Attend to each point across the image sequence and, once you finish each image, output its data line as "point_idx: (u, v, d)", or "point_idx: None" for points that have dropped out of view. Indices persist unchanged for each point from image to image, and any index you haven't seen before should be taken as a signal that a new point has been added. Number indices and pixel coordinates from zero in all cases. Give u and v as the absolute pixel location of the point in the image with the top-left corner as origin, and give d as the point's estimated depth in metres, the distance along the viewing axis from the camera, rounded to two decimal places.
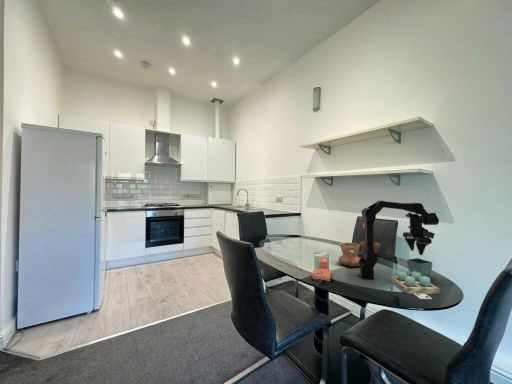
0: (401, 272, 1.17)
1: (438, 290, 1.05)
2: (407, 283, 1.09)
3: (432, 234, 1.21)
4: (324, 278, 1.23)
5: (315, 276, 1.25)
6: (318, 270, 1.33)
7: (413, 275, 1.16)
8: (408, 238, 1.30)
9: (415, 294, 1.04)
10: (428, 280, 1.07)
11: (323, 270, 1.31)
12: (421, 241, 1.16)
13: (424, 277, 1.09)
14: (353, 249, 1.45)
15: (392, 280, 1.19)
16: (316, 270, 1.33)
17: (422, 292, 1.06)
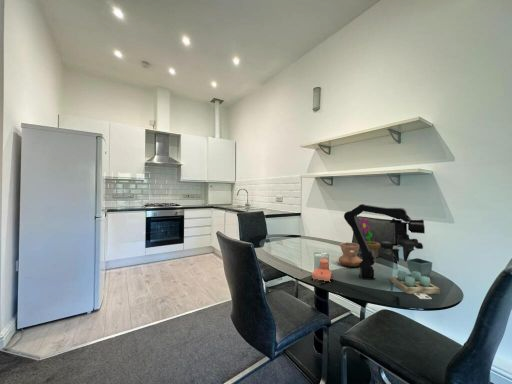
0: (401, 272, 1.17)
1: (438, 290, 1.05)
2: (407, 283, 1.09)
3: (403, 243, 1.11)
4: (324, 279, 1.22)
5: (315, 276, 1.24)
6: (318, 270, 1.32)
7: (413, 275, 1.16)
8: None
9: (415, 294, 1.04)
10: (428, 280, 1.07)
11: (323, 270, 1.31)
12: (380, 244, 1.20)
13: (424, 277, 1.09)
14: (353, 249, 1.45)
15: (392, 280, 1.19)
16: (316, 270, 1.32)
17: (422, 292, 1.06)
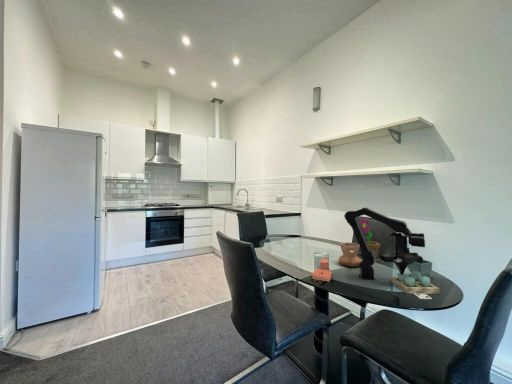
0: None
1: (438, 290, 1.05)
2: (407, 283, 1.09)
3: (403, 257, 1.10)
4: (324, 279, 1.22)
5: (315, 277, 1.24)
6: (319, 271, 1.31)
7: (413, 275, 1.16)
8: (401, 260, 1.19)
9: (415, 294, 1.04)
10: (428, 280, 1.07)
11: (324, 271, 1.30)
12: (381, 257, 1.20)
13: (424, 277, 1.09)
14: (353, 249, 1.45)
15: (392, 280, 1.19)
16: (317, 271, 1.32)
17: (422, 292, 1.06)
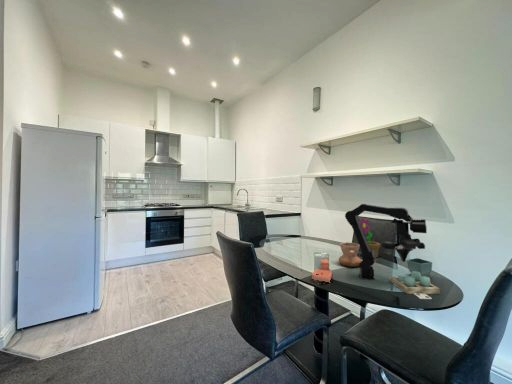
0: (401, 276, 1.17)
1: (438, 290, 1.05)
2: (407, 283, 1.09)
3: (405, 243, 1.10)
4: (323, 279, 1.21)
5: (315, 277, 1.23)
6: (319, 271, 1.31)
7: (413, 275, 1.16)
8: (403, 247, 1.18)
9: (415, 294, 1.04)
10: (428, 280, 1.07)
11: (324, 271, 1.29)
12: (382, 245, 1.19)
13: (424, 277, 1.09)
14: (353, 249, 1.45)
15: (392, 280, 1.19)
16: (317, 271, 1.31)
17: (422, 292, 1.06)
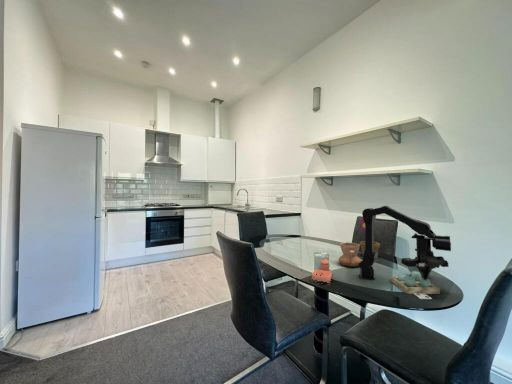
0: (401, 276, 1.17)
1: (438, 290, 1.05)
2: (407, 283, 1.09)
3: (428, 261, 1.03)
4: (323, 280, 1.20)
5: (315, 277, 1.23)
6: (319, 271, 1.30)
7: (413, 275, 1.16)
8: (424, 264, 1.11)
9: (415, 294, 1.04)
10: (428, 282, 1.07)
11: (324, 272, 1.29)
12: (401, 261, 1.12)
13: None
14: (353, 249, 1.45)
15: (392, 280, 1.19)
16: (317, 271, 1.31)
17: (422, 292, 1.06)
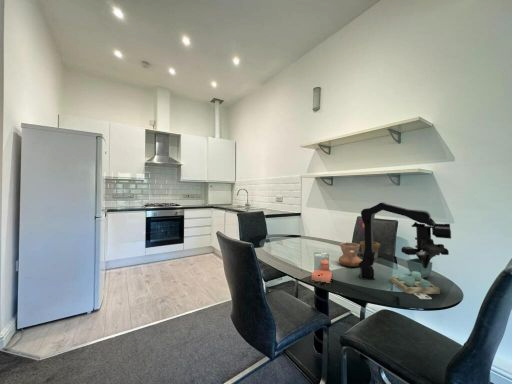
0: (401, 276, 1.17)
1: (438, 290, 1.05)
2: (407, 283, 1.09)
3: (428, 249, 1.03)
4: (323, 280, 1.20)
5: (314, 278, 1.22)
6: (319, 272, 1.30)
7: (413, 275, 1.16)
8: None
9: (415, 294, 1.04)
10: (428, 284, 1.07)
11: (324, 272, 1.28)
12: (402, 250, 1.12)
13: (424, 281, 1.09)
14: (353, 249, 1.45)
15: (392, 280, 1.19)
16: (317, 272, 1.30)
17: (422, 292, 1.06)
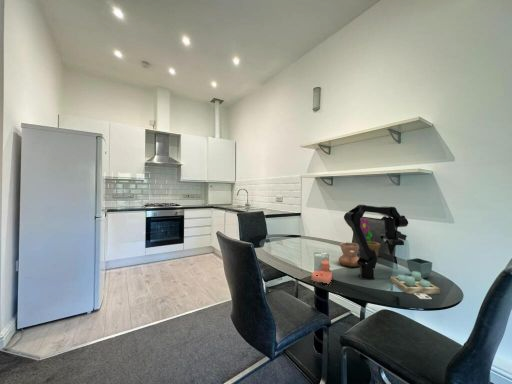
0: (401, 276, 1.17)
1: (438, 290, 1.05)
2: (407, 283, 1.09)
3: (404, 236, 1.28)
4: (323, 281, 1.19)
5: (314, 278, 1.22)
6: (319, 272, 1.29)
7: (413, 275, 1.16)
8: (386, 242, 1.32)
9: (415, 294, 1.04)
10: (428, 284, 1.07)
11: (324, 272, 1.27)
12: (395, 243, 1.22)
13: (424, 281, 1.09)
14: (353, 249, 1.45)
15: (392, 280, 1.19)
16: (317, 272, 1.29)
17: (422, 292, 1.06)
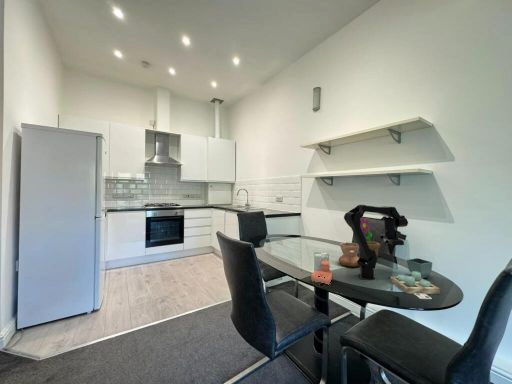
0: (401, 276, 1.17)
1: (438, 290, 1.05)
2: (407, 283, 1.09)
3: (404, 236, 1.28)
4: (323, 281, 1.19)
5: (314, 279, 1.21)
6: (319, 273, 1.28)
7: (413, 275, 1.16)
8: (386, 242, 1.32)
9: (415, 294, 1.04)
10: (428, 284, 1.07)
11: (324, 273, 1.27)
12: (395, 243, 1.22)
13: (424, 281, 1.09)
14: (353, 249, 1.45)
15: (392, 280, 1.19)
16: (317, 272, 1.29)
17: (422, 292, 1.06)
